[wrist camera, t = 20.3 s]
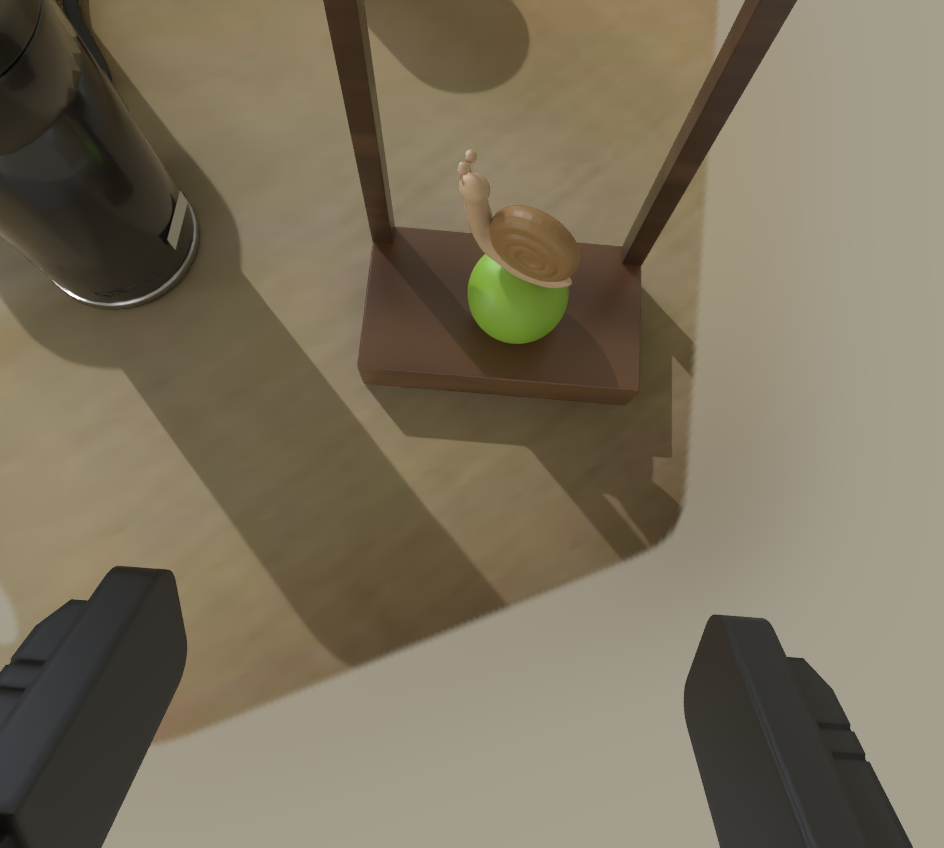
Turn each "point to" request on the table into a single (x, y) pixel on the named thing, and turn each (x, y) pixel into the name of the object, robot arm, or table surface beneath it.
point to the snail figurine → (516, 264)
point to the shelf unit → (456, 254)
